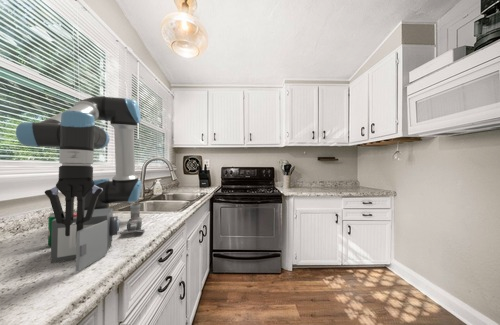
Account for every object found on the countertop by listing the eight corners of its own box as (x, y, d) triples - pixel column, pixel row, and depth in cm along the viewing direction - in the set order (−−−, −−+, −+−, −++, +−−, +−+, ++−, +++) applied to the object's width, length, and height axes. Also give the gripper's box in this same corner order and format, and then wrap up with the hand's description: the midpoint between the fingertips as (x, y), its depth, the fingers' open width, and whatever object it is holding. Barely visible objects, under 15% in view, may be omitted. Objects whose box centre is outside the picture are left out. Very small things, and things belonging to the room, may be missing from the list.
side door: (73, 271, 55) (74, 231, 55) (103, 253, 67) (104, 220, 67) (81, 271, 55) (81, 231, 55) (110, 253, 67) (110, 220, 67)
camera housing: (66, 247, 73) (67, 209, 73) (119, 239, 81) (120, 205, 81) (50, 263, 61) (51, 218, 61) (115, 252, 68) (115, 212, 69)
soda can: (51, 243, 77) (52, 212, 77) (68, 241, 79) (69, 210, 79) (44, 248, 72) (45, 214, 73) (62, 245, 74) (63, 213, 75)
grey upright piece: (145, 202, 99) (144, 208, 86) (145, 226, 99) (143, 236, 85) (125, 204, 95) (120, 210, 82) (125, 228, 95) (119, 239, 82)
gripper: (40, 164, 52) (36, 256, 51) (101, 165, 58) (98, 247, 57) (52, 164, 58) (49, 245, 58) (106, 165, 64) (103, 238, 64)
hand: (73, 246), depth 57 cm, fingers closed
